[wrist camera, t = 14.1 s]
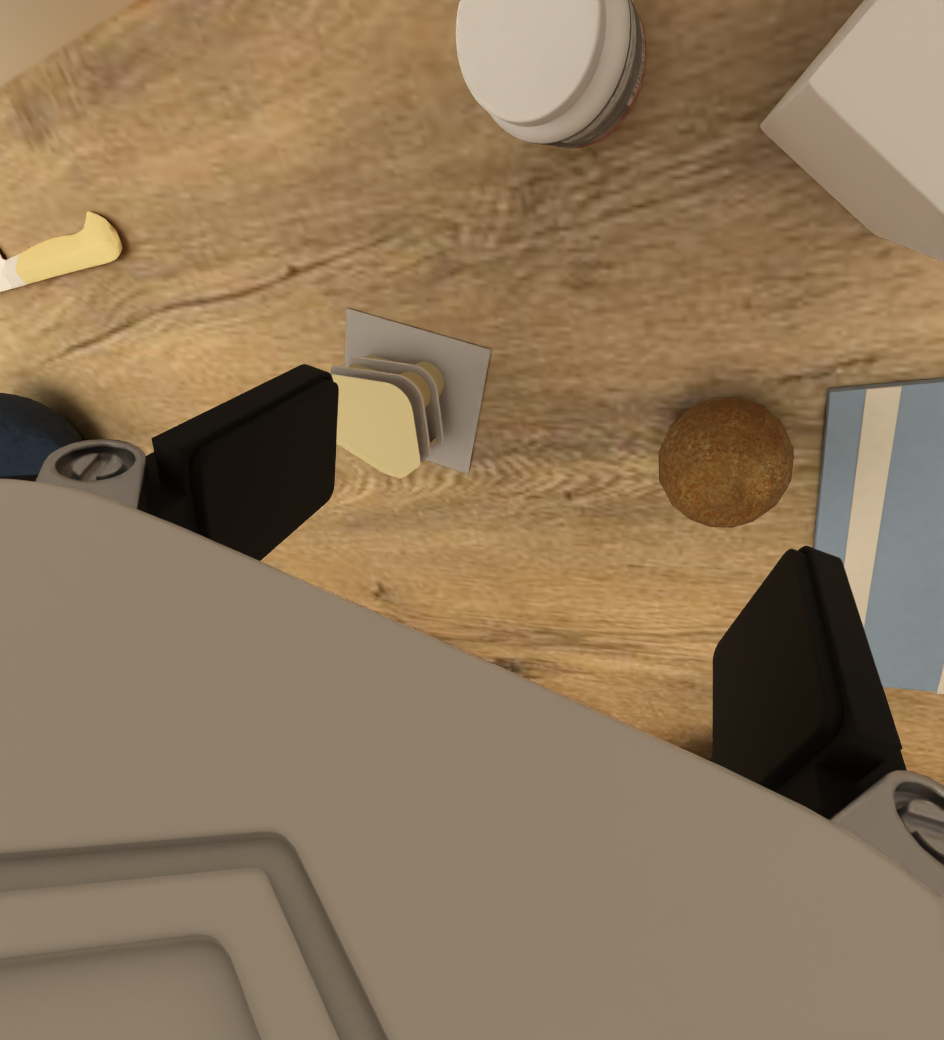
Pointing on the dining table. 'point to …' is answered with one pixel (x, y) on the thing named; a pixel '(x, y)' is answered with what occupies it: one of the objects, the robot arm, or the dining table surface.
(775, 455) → the fruit
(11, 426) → the decorative stone
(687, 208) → the dining table surface
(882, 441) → the towel
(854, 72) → the milk carton
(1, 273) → the knife
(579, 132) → the pill bottle
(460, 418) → the stacked layers on plate
